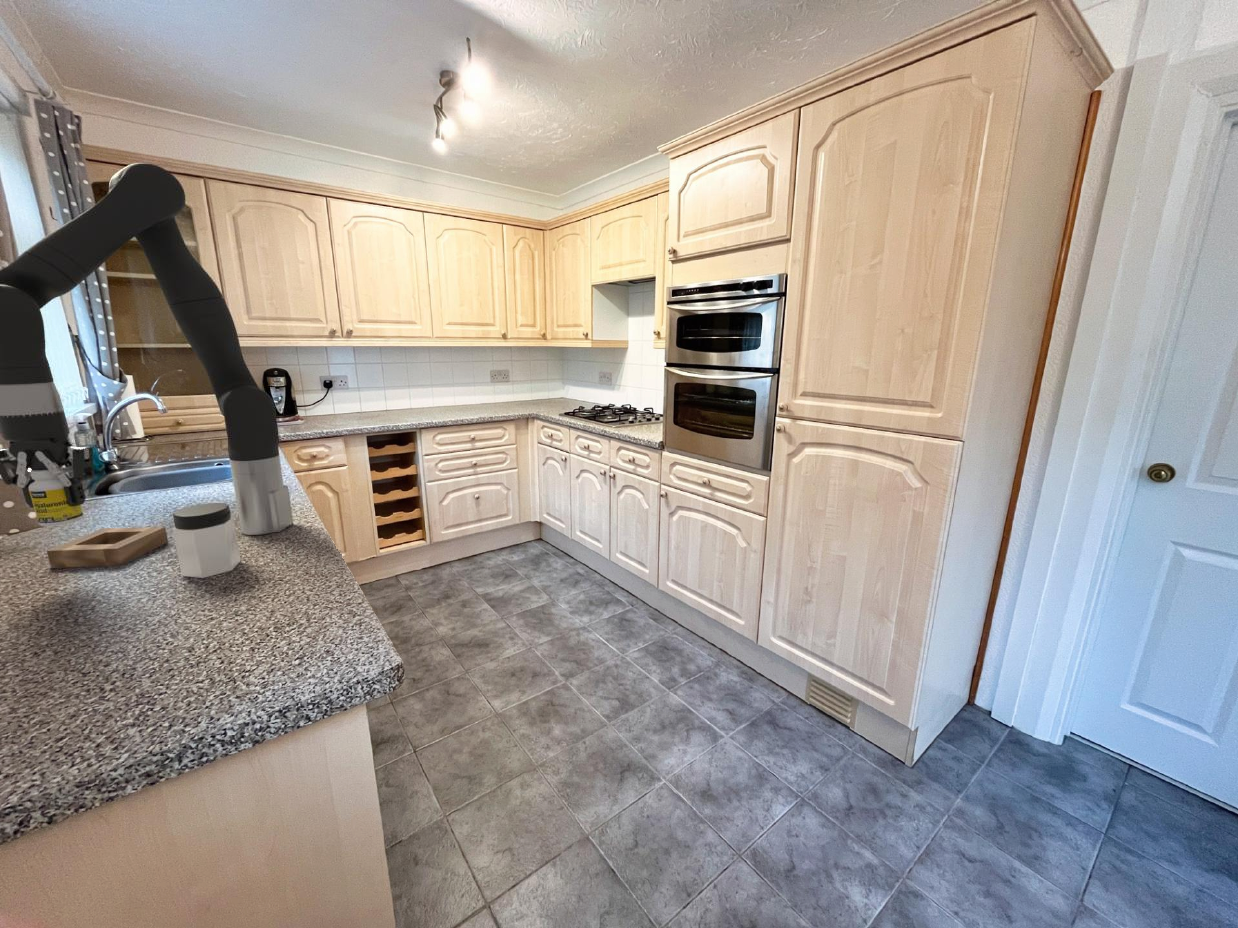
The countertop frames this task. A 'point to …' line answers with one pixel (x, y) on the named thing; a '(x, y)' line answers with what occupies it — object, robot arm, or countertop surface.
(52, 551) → the socket block
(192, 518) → the jar
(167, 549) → the countertop surface
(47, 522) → the supplement bottle
